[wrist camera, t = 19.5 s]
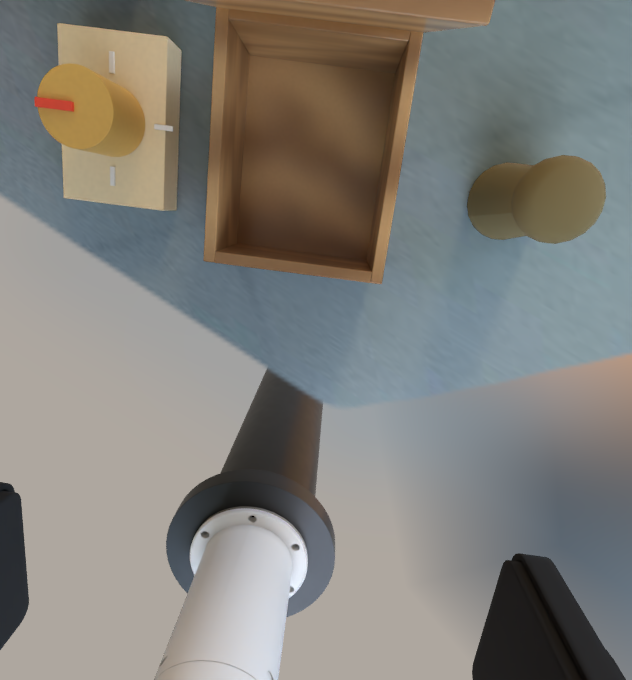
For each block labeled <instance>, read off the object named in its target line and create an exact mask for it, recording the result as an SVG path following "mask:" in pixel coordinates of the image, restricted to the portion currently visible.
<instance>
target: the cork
mask: <svg viewBox="0 0 632 680" xmlns="http://www.w3.org/2000/svg"><path fill="white" fill-rule="evenodd" d="M605 199H606V192H605V183H604V180H603V178H602V175H601V173H600V172H599V171H598V169H597V168H596V167H595V166H594V165H593V164H592V163H590V162H588V161H586V160H584V159H582V158H579V157H577V156H567V155H561V156H557V157H553V158H548V159H545V160H543V161H541V162H539V163H538V164H536V165H534V166H533V165H526V164H518V163H503V164H498V165H494V166H493V167H491V168H489V169H488V170H486V171H484V172H483V173H482V174H481V175H480V176H479V177H478V178H477V180H476V181H475V182H474V184H473V186H472V188H471V190H470V192H469V197H468V202H467V208H468V216H469V218H470V220H471V222H472V224H473V226H474V227H475V228H476V229H477V230H478V231H479V232H480V233H481V234H482V235H485V236H487V237H489V238H491V239H500V240H504V239H510V238H516V237H522V236H528V237H530V238H532V239H534V240H536V241H539V242H544V243H554V244H556V243H561V242H565V241H570V240H572V239H574V238H576V237H578V236H580V235H582V234H584V233H585V232H586V231H587V230H588V229H589V228H590V227H591V226H592V225H593V224H595V222H596V221H597V219H598V217H599V216H600V214H601V212H602V210H603V206H604V202H605Z"/></svg>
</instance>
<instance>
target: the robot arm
mask: <svg viewBox="0 0 632 680" xmlns="http://www.w3.org/2000/svg"><path fill="white" fill-rule="evenodd" d="M190 563H191V568H192V570H193V573H194V575H195V576H194V579H193V581H192V584H191V586H190V589H189V591H188V594H187V597H186V599H185V602H184V604H183V607H182V609H181V612H180V615H179V617H178V620H177V622H176V625H175V627H174V630H173V632H172V635H171V637H170V640H169V642H168V645H167V648H166V650H165V653H164V655H163V658H162V660H161V663H160V665H159V668H158V671H157V673H156V676H155V678H154V680H278V676H279V669H280V661H281V653H282V646H283V638H284V629H285V622H286V615H287V607H288V599H289V598H290V597H291V596H292V595H293V594H295V592H296V591H297V590H298V589H299V588H300V587H301V585H302V583H303V581H304V579H305V576H306V572H307V565H308V555H307V548H306V545H305V542H304V540H303V538H302V537H301V535H300V533H299V532H298V531H297V529H296V528H295V527H294V526H293V525H292V524H291V523H290V522H288V521H287V520H286V519H285V518H283V517H281V516H279V515H278V514H276V513H274V512H271V511H268V510H266V509H262V508H257V507H247V506H240V507H233V508H228V509H225V510H222V511H219V512H217V513H216V514H214V515H212V516H210V517H209V518H208V519H207V520H206V521H205V522H203V523H202V525H201V526H200V528H199V529H198V530H197V532H196V534H195V536H194V539H193V541H192V544H191V548H190ZM28 604H29V597H28V584H27V571H26V558H25V546H24V533H23V520H22V507H21V498H20V495H19V494H18V493H15V492H14V488H13V486H12V485H10V484H8V483H2V482H0V650H1V648H2V647H3V646H4V644H5V643H6V642H7V641H8V639H9V638H10V636H11V635H12V634H13V633H14V631H15V630H16V628H17V627H18V626H19V625H20V623H21V622H22V620H23V618H24V616H25V614H26V612H27V609H28ZM472 675H473V680H626V679H625V677H624V676H623V674H622V672H621V671H620V669H619V667H618V666H617V664H616V663H615V661H614V659H613V658H612V657H611V655H610V654H609V653H608V651H607V650H606V649H605V648H604V646H603V645H602V643H601V641H600V640H599V638H598V636H597V635H596V633H595V631H594V630H593V628H592V626H591V625H590V623H589V621H588V620H587V618H586V616H585V615H584V613H583V611H582V610H581V608H580V606H579V605H578V603H577V601H576V600H575V598H574V596H573V595H572V593H571V592H570V590H569V588H568V586H567V585H566V583H565V581H564V580H563V578H562V576H561V575H560V573H559V571H558V570H557V568H556V566H555V565H554V563H553V562H552V561H551V560H550V559H549V558H547V557H540V556H533V555H526V554H515V555H514V556H513V558H512V560H511V561H509V560H506V561H505V562H504V563H503V566H502V569H501V572H500V575H499V579H498V582H497V585H496V589H495V592H494V596H493V599H492V602H491V606H490V609H489V613H488V616H487V619H486V622H485V626H484V629H483V632H482V636H481V639H480V642H479V646H478V649H477V652H476V656H475V659H474V663H473V670H472Z"/></svg>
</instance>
